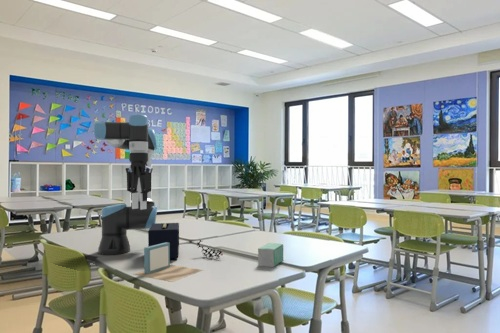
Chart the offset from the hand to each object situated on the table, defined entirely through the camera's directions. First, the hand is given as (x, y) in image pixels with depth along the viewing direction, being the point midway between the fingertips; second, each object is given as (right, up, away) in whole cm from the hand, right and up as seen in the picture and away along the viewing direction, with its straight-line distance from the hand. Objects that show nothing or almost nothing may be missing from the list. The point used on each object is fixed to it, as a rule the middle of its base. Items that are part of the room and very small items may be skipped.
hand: (139, 208), depth 159 cm
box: (+55, -24, +8) cm, 61 cm away
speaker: (+6, -25, +21) cm, 33 cm away
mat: (+14, -24, -8) cm, 29 cm away
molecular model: (+27, -25, +18) cm, 41 cm away
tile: (+9, -24, -5) cm, 26 cm away
